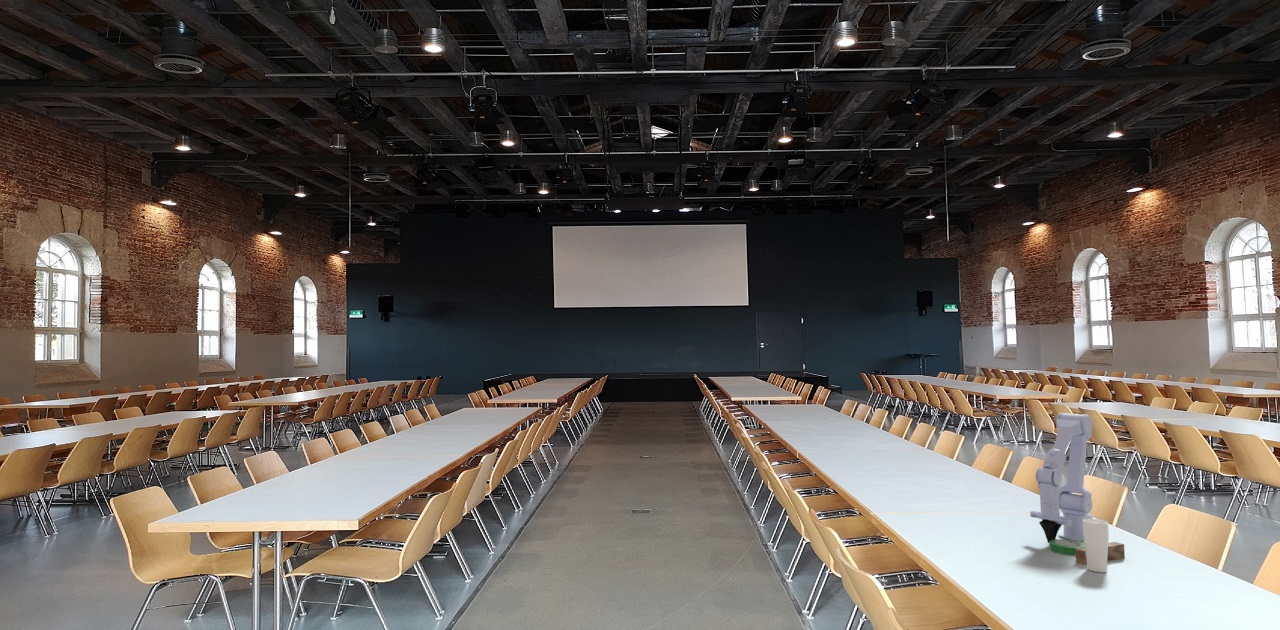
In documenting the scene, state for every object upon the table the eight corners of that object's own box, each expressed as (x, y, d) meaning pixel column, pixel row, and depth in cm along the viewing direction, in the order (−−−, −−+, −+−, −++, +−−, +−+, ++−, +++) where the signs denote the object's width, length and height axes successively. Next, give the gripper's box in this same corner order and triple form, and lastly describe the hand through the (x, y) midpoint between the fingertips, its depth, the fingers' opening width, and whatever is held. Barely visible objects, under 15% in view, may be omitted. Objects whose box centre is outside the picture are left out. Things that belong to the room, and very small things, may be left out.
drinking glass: (1106, 567, 224) (1104, 519, 225) (1113, 574, 218) (1110, 524, 218) (1081, 566, 227) (1079, 517, 227) (1087, 572, 220) (1085, 523, 221)
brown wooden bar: (1115, 555, 236) (1115, 541, 237) (1124, 558, 234) (1124, 544, 234) (1075, 562, 230) (1075, 548, 230) (1084, 565, 227) (1083, 550, 227)
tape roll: (1043, 546, 248) (1042, 538, 248) (1075, 546, 248) (1075, 538, 248) (1061, 556, 237) (1061, 548, 237) (1095, 555, 237) (1095, 547, 237)
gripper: (1023, 499, 254) (1024, 538, 254) (1059, 508, 241) (1061, 549, 240) (1038, 497, 257) (1039, 536, 256) (1075, 506, 243) (1076, 547, 243)
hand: (1051, 542), depth 249 cm, fingers closed
